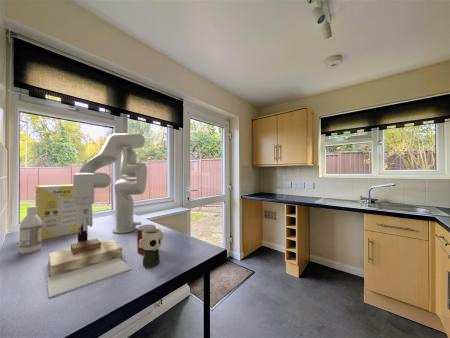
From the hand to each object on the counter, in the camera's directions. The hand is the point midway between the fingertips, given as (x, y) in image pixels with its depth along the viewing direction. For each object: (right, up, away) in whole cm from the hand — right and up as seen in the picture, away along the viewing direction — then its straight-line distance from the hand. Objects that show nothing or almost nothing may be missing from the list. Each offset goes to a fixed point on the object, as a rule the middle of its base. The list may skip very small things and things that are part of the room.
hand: (82, 242), depth 82 cm
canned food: (+27, -5, +3) cm, 28 cm away
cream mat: (+16, -5, -17) cm, 24 cm away
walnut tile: (+5, -1, -5) cm, 7 cm away
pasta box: (-34, -5, +25) cm, 42 cm away
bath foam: (-25, -5, +2) cm, 26 cm away
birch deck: (+7, -5, -6) cm, 10 cm away
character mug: (+34, -5, -9) cm, 36 cm away
